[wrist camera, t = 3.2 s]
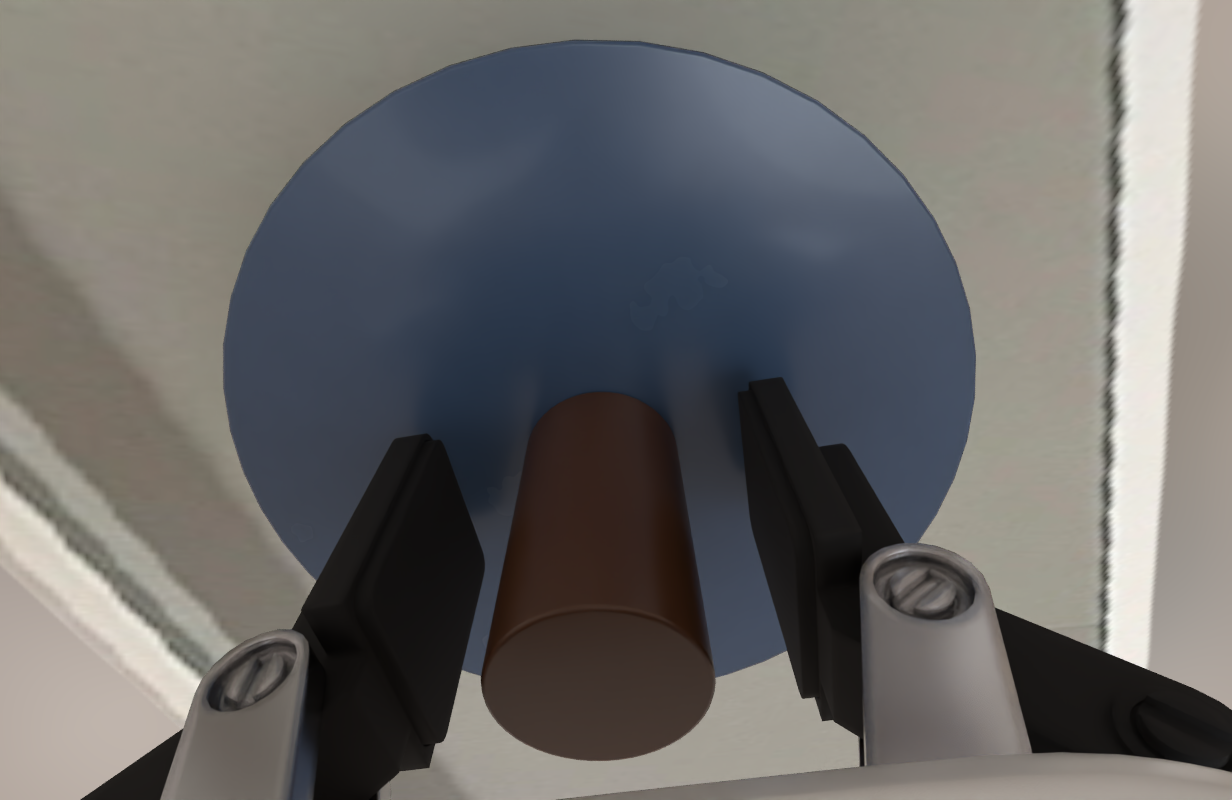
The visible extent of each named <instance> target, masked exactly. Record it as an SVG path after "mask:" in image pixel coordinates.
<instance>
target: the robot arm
mask: <svg viewBox="0 0 1232 800" xmlns="http://www.w3.org/2000/svg"><path fill="white" fill-rule="evenodd" d="M738 405H739V415H740V425H741V435H742V445H743V455H744V466H745V476H746V486H747V496H748V506H749V516H750V522H751V527H752V532H753V536H754V539H755V542H756V546H757V549H758V553H759V556H760V560H761V563H762V566H763V570H764V573H765V577H766V580H767V583H768V587H769V590H770V594H771V597H772V600H773V604H774V607H775V611H776V614H777V617H778V621H779V624H780V628H781V631H782V634H783V638H784V641H785V645H786V648H787V652H788V655H789V658H790V662H791V665H792V669H793V672H794V675H795V679H796V682H797V686H798V689H799V692H800V695H801V697H802V698H803V699H805V698H813V697H815V700H816V703H817V706H818V709H819V712H820V716H821V719H822V721H828V720H834V722H835V723H837V724H839V725H840V726H842V727H844V728H845V729H847V730H849V731H850V732H852V733H854V734H855V735H857V736H858V747H859V767H854V768H843V769H834V770H825V771H815V772H806V773H797V774H787V775H778V776H769V777H759V778H750V779H741V780H732V781H722V782H713V783H704V784H694V785H685V786H676V787H666V788H657V789H648V790H638V791H630V792H621V793H612V794H603V795H594V796H585V797H576V798H567V799H558V800H1232V710H1231V709H1229V708H1228V707H1227V706H1225V705H1224V704H1222V703H1221V702H1219V701H1217V700H1215V699H1213V698H1211V697H1209V696H1207V695H1206V694H1204V693H1201V692H1199V691H1198V690H1196V689H1194V688H1191V687H1189V686H1186V685H1184V684H1181V683H1179V682H1177V681H1174V680H1172V679H1169V678H1167V677H1164V676H1162V675H1159V674H1157V673H1154V672H1152V671H1150V670H1147V669H1145V668H1142V667H1140V666H1137V665H1135V664H1132V663H1130V662H1127V661H1125V660H1123V659H1120V658H1118V657H1115V656H1113V655H1110V654H1108V653H1105V652H1103V651H1100V650H1098V649H1096V648H1093V647H1091V646H1088V645H1086V644H1083V643H1081V642H1078V641H1076V640H1073V639H1071V638H1069V637H1066V636H1064V635H1061V634H1059V633H1056V632H1054V631H1051V630H1049V629H1046V628H1044V627H1041V626H1039V625H1037V624H1034V623H1032V622H1029V621H1027V620H1024V619H1022V618H1019V617H1017V616H1014V615H1012V614H1010V613H1007V612H1005V611H1002V610H1000V609H997V608H995V607H994V603H993V599H992V595H991V592H990V588H989V586H988V584H987V582H986V580H985V578H984V576H983V574H982V573H981V572H980V571H979V570H978V569H977V568H976V567H975V566H974V565H973V564H972V563H971V562H969V561H968V560H966V559H964V558H963V557H961V556H959V555H958V554H956V553H954V552H952V551H949V550H946V549H943V548H941V547H938V546H934V545H927V544H921V543H904V541H903V539H902V537H901V536H900V534H899V532H898V531H897V529H896V527H895V526H894V524H893V522H892V521H891V519H890V517H889V516H888V514H887V512H886V510H885V509H884V507H883V505H882V504H881V502H880V500H879V499H878V497H877V495H876V494H875V492H874V490H873V488H872V487H871V485H870V483H869V482H868V480H867V478H866V477H865V475H864V473H863V472H862V470H861V468H860V466H859V465H858V463H857V461H856V460H855V458H854V456H853V455H852V453H851V451H850V450H849V448H848V447H847V446H846V445H845V444H843V443H840V444H834V445H827V446H820V447H818V445H817V443H816V441H815V439H814V437H813V435H812V433H811V431H810V429H809V427H808V426H807V424H806V422H805V420H804V418H803V416H802V414H801V412H800V410H799V408H798V406H797V404H796V402H795V401H794V399H793V397H792V395H791V393H790V391H789V389H788V387H787V385H786V383H785V381H784V379H783V378H782V377H776V378H770V379H764V380H757V381H751V382H749V385H748V390H747V391H741V392H738ZM484 572H485V559H484V554H483V550H482V548H481V545H480V542H479V539H478V537H477V534H476V531H475V529H474V526H473V523H472V520H471V518H470V515H469V512H468V509H467V507H466V504H465V501H464V498H463V496H462V493H461V490H460V487H459V485H458V482H457V479H456V477H455V474H454V471H453V468H452V466H451V463H450V460H449V457H448V455H447V452H446V449H445V447H444V444H443V443H442V441H441V440H433V439H432V438H431V436H430V435H429V434H427V433H426V434H420V435H413V436H407V437H401V438H396V439H394V440H393V442H392V443H391V445H390V447H389V449H388V451H387V452H386V454H385V456H384V458H383V460H382V462H381V463H380V465H379V467H378V469H377V471H376V473H375V474H374V476H373V478H372V480H371V482H370V484H369V486H368V487H367V489H366V491H365V493H364V495H363V497H362V498H361V500H360V502H359V504H358V506H357V508H356V509H355V511H354V513H353V515H352V517H351V519H350V520H349V522H348V524H347V526H346V528H345V530H344V532H343V533H342V535H341V537H340V539H339V541H338V543H337V544H336V546H335V548H334V550H333V552H332V554H331V555H330V557H329V559H328V561H327V563H326V565H325V566H324V568H323V570H322V572H321V574H320V576H319V578H318V579H317V581H316V583H315V585H314V587H313V589H312V590H311V592H310V594H309V596H308V598H307V600H306V601H305V603H304V605H303V607H302V609H301V611H302V612H301V614H300V615H299V617H298V619H297V621H296V623H295V625H294V626H293V628H292V629H278V630H273V631H269V632H265V633H262V634H259V635H257V636H255V637H253V638H250V639H248V640H246V641H244V642H243V643H241V644H239V645H238V646H236V647H235V648H233V649H232V650H230V651H229V652H228V653H226V654H225V655H224V656H223V657H222V658H221V659H220V660H218V661H217V662H216V663H215V664H214V665H213V666H212V667H211V669H210V670H209V671H208V672H207V674H206V675H205V676H204V677H203V679H202V680H201V682H200V684H199V686H198V688H197V690H196V692H195V695H194V698H193V701H192V704H191V707H190V710H189V713H188V716H187V719H186V722H185V726H184V728H183V729H182V730H180V731H179V732H177V733H176V734H175V735H173V736H172V737H170V738H169V739H167V740H166V741H164V742H163V743H162V744H160V745H159V746H157V747H156V748H154V749H153V750H152V751H150V752H149V753H147V754H146V755H144V756H143V757H141V758H140V759H139V760H137V761H136V762H134V763H133V764H131V765H130V766H128V767H127V768H126V769H124V770H123V771H121V772H120V773H118V774H117V775H115V776H114V777H113V778H111V779H110V780H108V781H107V782H106V783H104V784H102V785H101V786H100V787H98V788H97V789H95V790H94V791H92V792H91V793H90V794H88V795H87V796H85V797H84V798H82V799H81V800H391V786H390V780H391V779H393V778H394V777H395V776H396V775H397V774H398V773H399V771H406V770H415V769H423V768H429V767H430V762H431V758H432V754H433V750H434V746H435V743H441V742H443V741H444V739H445V737H446V734H447V730H448V726H449V722H450V717H451V713H452V709H453V705H454V700H455V696H456V692H457V688H458V683H459V679H460V675H461V671H462V666H463V662H464V658H465V654H466V649H467V645H468V641H469V637H470V632H471V628H472V624H473V620H474V615H475V611H476V607H477V603H478V598H479V594H480V590H481V586H482V581H483V577H484Z"/></svg>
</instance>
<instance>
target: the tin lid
mask: <svg viewBox="0 0 1232 800" xmlns="http://www.w3.org/2000/svg"><path fill="white" fill-rule="evenodd" d="M975 369H976V352H975V344H974V337H973V329H972V321H971V314H970V307H969V304H968V301H967V297H966V294H965V291H964V287H963V284H962V281H961V277H960V274H959V271H958V267H957V264H956V261H955V259H954V257H953V255H952V253H951V251H950V249H949V247H948V245H947V243H946V241H945V239H944V237H943V235H942V233H941V231H940V229H939V227H938V225H937V223H936V220H935V218H934V217H933V215H932V214H931V213H930V211H929V210H928V208H927V207H926V205H925V204H924V203H923V201H922V200H921V198H920V197H919V196H918V194H917V193H916V191H915V190H914V189H913V187H912V186H911V184H910V183H909V182H908V180H907V179H906V177H905V176H904V175H903V174H902V173H901V171H900V170H899V169H898V168H897V167H896V166H895V165H894V164H893V163H892V162H891V161H890V160H889V159H888V158H887V157H886V156H885V155H884V154H883V153H882V152H881V151H880V150H879V149H878V148H877V147H876V146H875V145H874V144H873V143H872V142H871V141H870V140H869V139H868V138H867V137H866V136H865V135H864V134H862V133H861V132H860V131H858V130H857V129H856V128H854V127H853V126H851V125H850V124H849V123H847V122H846V121H845V120H843V119H842V118H841V117H839V116H838V115H836V114H835V113H834V112H832V111H831V110H830V109H828V108H827V107H826V106H824V105H823V104H821V103H820V102H819V101H817V100H816V99H814V98H812V97H810V96H808V95H806V94H804V93H802V92H800V91H798V90H796V89H794V88H792V87H790V86H788V85H786V84H785V83H783V82H781V81H779V80H777V79H775V78H773V77H771V76H769V75H767V74H765V73H763V72H760V71H757V70H754V69H751V68H748V67H745V66H743V65H740V64H737V63H734V62H731V61H728V60H725V59H722V58H719V57H716V56H713V55H710V54H707V53H704V52H699V51H693V50H687V49H681V48H676V47H670V46H664V45H659V44H653V43H647V42H641V41H608V40H569V41H561V42H553V43H545V44H537V45H529V46H522V47H514V48H509V49H505V50H502V51H498V52H495V53H491V54H488V55H484V56H481V57H477V58H474V59H470V60H467V61H463V62H460V63H456V64H453V65H449V66H447V67H445V68H443V69H441V70H438V71H436V72H434V73H432V74H430V75H428V76H425V77H423V78H421V79H419V80H417V81H415V82H412V83H410V84H408V85H406V86H404V87H402V88H399V89H397V90H395V91H393V92H392V93H390V94H389V95H387V96H386V97H384V98H383V99H381V100H380V101H378V102H377V103H375V104H374V105H372V106H371V107H369V108H368V109H366V110H365V111H363V112H362V113H360V114H359V115H357V116H356V117H354V118H353V119H351V120H350V121H348V122H347V123H345V124H344V125H343V126H342V127H341V128H340V129H339V130H338V131H336V132H335V133H334V134H333V135H332V136H331V137H330V138H329V139H328V140H327V141H326V142H325V143H324V144H323V145H321V146H320V147H319V148H318V149H317V150H316V151H315V152H314V153H313V154H312V155H311V156H310V157H309V158H308V159H306V160H305V161H304V162H303V163H302V165H301V166H300V167H299V169H298V170H297V171H296V172H295V174H294V175H293V176H292V178H291V179H290V180H289V182H288V183H287V184H286V185H285V187H284V188H283V189H282V191H281V192H280V193H279V195H278V196H277V197H276V198H275V200H274V201H273V202H272V204H271V205H270V207H269V209H268V210H267V212H266V214H265V216H264V218H263V220H262V222H261V224H260V225H259V227H258V229H257V231H256V233H255V235H254V237H253V239H252V241H251V242H250V244H249V246H248V248H247V250H246V253H245V256H244V259H243V262H242V265H241V268H240V271H239V274H238V277H237V280H236V283H235V286H234V289H233V292H232V295H231V299H230V305H229V311H228V318H227V324H226V330H225V337H224V343H223V389H224V395H225V401H226V407H227V414H228V420H229V426H230V432H231V435H232V438H233V441H234V445H235V448H236V451H237V454H238V457H239V460H240V464H241V467H242V470H243V472H244V475H245V477H246V479H247V481H248V483H249V485H250V487H251V489H252V491H253V493H254V496H255V498H256V500H257V502H258V504H259V506H260V508H261V510H262V511H263V513H264V514H265V516H266V517H267V519H268V521H269V522H270V524H271V525H272V527H273V528H274V530H275V531H276V533H277V534H278V536H279V537H280V539H281V541H282V542H283V543H284V545H285V546H286V547H287V548H288V549H289V551H290V552H291V553H292V554H293V555H294V556H295V558H296V559H297V560H298V561H299V562H300V564H301V565H302V566H303V567H304V568H305V570H306V571H307V572H308V573H309V574H310V575H311V576H312V577H313V578H314V579H315V580H316V581H317V579H318V578H319V576H320V574H321V572H322V570H323V568H324V566H325V565H326V563H327V561H328V559H329V557H330V555H331V554H332V552H333V550H334V548H335V546H336V544H337V543H338V541H339V539H340V537H341V535H342V533H343V532H344V530H345V528H346V526H347V524H348V522H349V520H350V519H351V517H352V515H353V513H354V511H355V509H356V508H357V506H358V504H359V502H360V500H361V498H362V497H363V495H364V493H365V491H366V489H367V487H368V486H369V484H370V482H371V480H372V478H373V476H374V474H375V473H376V471H377V469H378V467H379V465H380V463H381V462H382V460H383V458H384V456H385V454H386V452H387V451H388V449H389V447H390V445H391V443H392V442H393V440H394V439H396V438H401V437H407V436H413V435H420V434H426V433H427V434H429V435H430V436H431V438H432V439H433V440H441V441H442V443H443V444H444V447H445V449H446V452H447V455H448V457H449V460H450V463H451V466H452V468H453V471H454V474H455V477H456V479H457V482H458V485H459V487H460V490H461V493H462V496H463V498H464V501H465V504H466V507H467V509H468V512H469V515H470V518H471V520H472V523H473V526H474V529H475V531H476V534H477V537H478V539H479V542H480V545H481V548H482V550H483V554H484V559H485V572H484V577H483V581H482V586H481V590H480V594H479V598H478V603H477V607H476V611H475V615H474V620H473V624H472V628H471V632H470V637H469V641H468V645H467V649H466V654H465V658H464V662H463V666H462V670H464V671H466V672H469V673H472V674H476V675H480V676H481V687H482V693H483V697H484V700H485V703H486V706H487V707H488V709H489V711H490V713H491V715H492V716H493V717H494V719H495V720H496V721H497V723H498V724H499V725H500V726H501V727H502V728H503V729H504V730H505V731H507V732H508V733H509V734H511V735H512V736H513V737H515V738H516V739H518V740H519V741H521V742H523V743H524V744H526V745H528V746H531V747H533V748H535V749H537V750H540V751H543V752H545V753H548V754H552V755H556V756H560V757H564V758H570V759H576V760H587V761H610V760H621V759H627V758H633V757H637V756H641V755H645V754H648V753H651V752H654V751H657V750H659V749H662V748H664V747H666V746H668V745H670V744H672V743H674V742H675V741H677V740H679V739H681V738H682V737H683V736H685V735H686V734H687V733H689V732H690V731H691V730H692V729H693V728H694V727H695V726H696V725H697V724H698V723H699V722H700V721H701V719H702V718H703V717H704V716H705V714H706V712H707V710H708V708H709V707H710V704H711V701H712V698H713V695H714V691H715V684H716V681H715V678H716V677H720V676H724V675H728V674H731V673H733V672H736V671H739V670H742V669H744V668H747V667H750V666H753V665H756V664H758V663H761V662H764V661H766V660H768V659H770V658H772V657H774V656H777V655H779V654H781V653H783V652H785V651H787V648H786V645H785V641H784V638H783V634H782V631H781V628H780V624H779V621H778V617H777V614H776V611H775V607H774V604H773V600H772V597H771V594H770V590H769V587H768V583H767V580H766V577H765V573H764V570H763V566H762V563H761V560H760V556H759V553H758V549H757V546H756V542H755V539H754V536H753V532H752V527H751V522H750V516H749V506H748V496H747V486H746V476H745V466H744V455H743V445H742V435H741V425H740V415H739V405H738V392H741V391H747V390H748V385H749V382H751V381H757V380H764V379H770V378H776V377H782V378H783V379H784V381H785V383H786V385H787V387H788V389H789V391H790V393H791V395H792V397H793V399H794V401H795V402H796V404H797V406H798V408H799V410H800V412H801V414H802V416H803V418H804V420H805V422H806V424H807V426H808V427H809V429H810V431H811V433H812V435H813V437H814V439H815V441H816V443H817V445H818V447H820V446H827V445H834V444H840V443H843V444H845V445H846V446H847V447H848V448H849V450H850V451H851V453H852V455H853V456H854V458H855V460H856V461H857V463H858V465H859V466H860V468H861V470H862V472H863V473H864V475H865V477H866V478H867V480H868V482H869V483H870V485H871V487H872V488H873V490H874V492H875V494H876V495H877V497H878V499H879V500H880V502H881V504H882V505H883V507H884V509H885V510H886V512H887V514H888V516H889V517H890V519H891V521H892V522H893V524H894V526H895V527H896V529H897V531H898V532H899V534H900V536H901V537H902V539H903V541H904V543H918V542H919V540H920V539H921V537H922V536H923V534H924V533H925V531H926V530H927V528H928V527H929V525H930V524H931V522H932V521H933V519H934V518H935V516H936V515H937V513H938V511H939V509H940V507H941V504H942V502H943V500H944V498H945V496H946V494H947V492H948V490H949V488H950V486H951V484H952V482H953V480H954V478H955V475H956V472H957V469H958V466H959V463H960V460H961V457H962V454H963V451H964V448H965V445H966V442H967V438H968V433H969V427H970V422H971V416H972V411H973V405H974V400H975Z"/></svg>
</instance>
